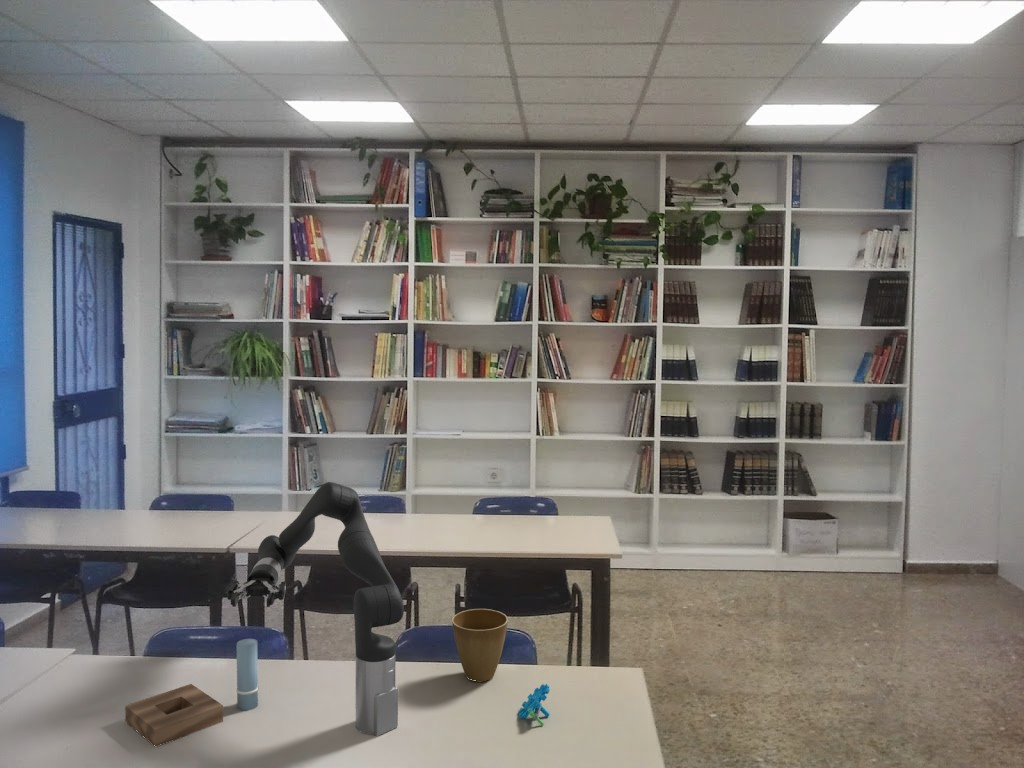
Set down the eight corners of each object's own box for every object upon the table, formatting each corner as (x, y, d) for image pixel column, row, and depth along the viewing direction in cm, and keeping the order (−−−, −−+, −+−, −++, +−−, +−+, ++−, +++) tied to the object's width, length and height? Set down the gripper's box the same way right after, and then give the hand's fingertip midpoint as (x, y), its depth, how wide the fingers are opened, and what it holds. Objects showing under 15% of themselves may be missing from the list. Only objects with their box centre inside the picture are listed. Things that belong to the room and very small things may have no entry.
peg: (262, 705, 199) (261, 642, 198) (243, 712, 196) (242, 648, 194) (251, 698, 203) (251, 636, 202) (233, 705, 199) (232, 642, 198)
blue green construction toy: (520, 697, 202) (548, 674, 199) (537, 714, 202) (565, 692, 200) (512, 724, 192) (541, 701, 189) (529, 742, 192) (559, 719, 189)
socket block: (223, 721, 191) (222, 705, 191) (155, 747, 180) (155, 729, 179) (191, 699, 202) (191, 683, 202) (125, 722, 190) (125, 705, 190)
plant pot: (457, 662, 226) (458, 607, 225) (510, 666, 224) (511, 610, 223) (445, 686, 211) (446, 627, 210) (502, 691, 209) (503, 631, 208)
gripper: (237, 563, 220) (221, 589, 205) (291, 563, 222) (279, 589, 206) (238, 588, 222) (222, 617, 206) (291, 589, 223) (279, 617, 207)
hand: (250, 603), depth 206 cm, fingers open, 8 cm apart
